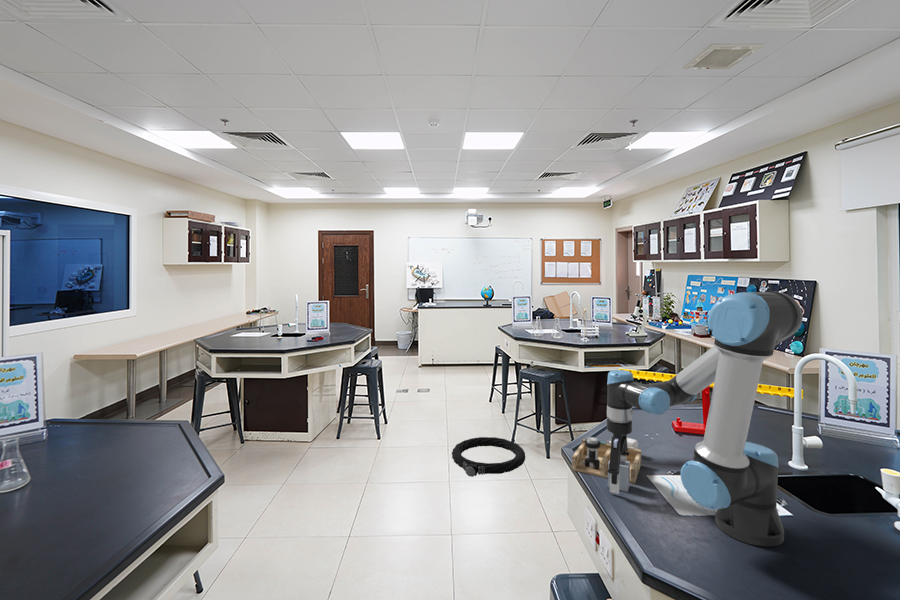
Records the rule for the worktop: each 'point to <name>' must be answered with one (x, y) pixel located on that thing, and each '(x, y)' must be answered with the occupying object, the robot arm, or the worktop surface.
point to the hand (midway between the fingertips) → (618, 483)
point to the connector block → (622, 475)
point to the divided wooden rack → (605, 460)
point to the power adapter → (630, 443)
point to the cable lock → (488, 468)
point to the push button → (592, 453)
